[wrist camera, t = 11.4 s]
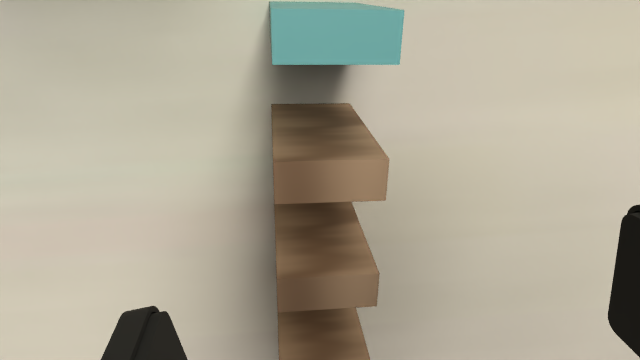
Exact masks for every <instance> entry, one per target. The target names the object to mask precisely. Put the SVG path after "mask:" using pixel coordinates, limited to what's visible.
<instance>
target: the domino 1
mask: <svg viewBox="0 0 640 360" xmlns="http://www.w3.org/2000/svg"><path fill="white" fill-rule="evenodd" d="M403 20H404V10H400V9H393V8H387V7H380V6H373V5H366V4H360V3H335V2H270V36H271V52H272V65H400V54H401V42H402V31H403Z"/></svg>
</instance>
